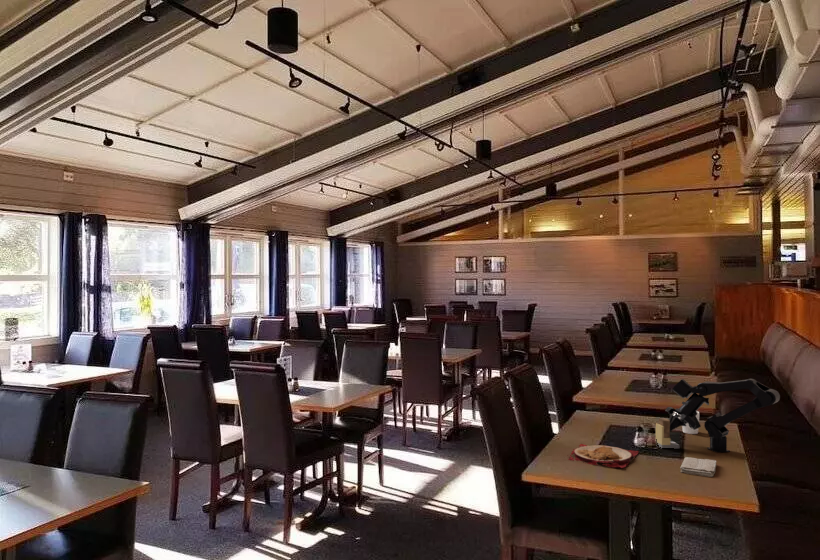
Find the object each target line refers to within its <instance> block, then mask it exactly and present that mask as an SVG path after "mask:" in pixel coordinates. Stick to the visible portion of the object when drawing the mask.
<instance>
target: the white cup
mask: <svg viewBox="0 0 820 560" xmlns="http://www.w3.org/2000/svg"><path fill="white" fill-rule="evenodd" d="M696 412H697V415H696V418H697V419H698V421H699V422H700V411H698V410H697V411H696ZM681 427H682V432H683V433H684V434H689V435H697V434H698V433H699V428H697V429H695V430H694V429H692V428H690V427H689V424H688V423H687V424H686V426H681Z"/></svg>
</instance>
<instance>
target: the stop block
mask: <svg viewBox="0 0 820 560" xmlns="http://www.w3.org/2000/svg"><path fill="white" fill-rule="evenodd" d="M658 424H660V425H662V426H664V438H670V439H671V437H670V434H671V433H670V432H671V431H670V420H669V419H668V418H665V417H664V418H663V417H662V418H661V417H660V418H659V417H658Z"/></svg>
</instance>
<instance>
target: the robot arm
mask: <svg viewBox="0 0 820 560" xmlns="http://www.w3.org/2000/svg"><path fill="white" fill-rule="evenodd" d="M743 390H749V391H750V392H751V393H752V394H753V395H754V396H755V398H754V399H752V400H751V401H749V402H747V403H745V404H743V405H740V406H738V407H736V408H735V409H733V410H731V411H729V412H727V413H725V414H721V412H717V413H715V414H713V415H711V416H709V417H706V421H704V425H703V426H704V429H705V431H707V434H708V437H710V438H709V447H706V448H707V450H709V451H713V452H715V453H729V452H731V451H730V450H729V449H727V448H728V447H727V446H728V444H727V443H728V440H727V439H728V438H727V436H728V435H729V433H730V431H729V429H728V428H727V427H726V426H728V424H730V423H731V422H733V421H734V420H737V419H739V418H741V417H743V416H745V415H747V414H749V413H752V412H753V411H755V410H757V409H761V408H765V407H768V406H771V405H774V404H776V403H778V402H779V401H780V399H781V395H780V393H779V391H777V390H776V389H773V388H770V387H768V386H766V385H765V384H762V383H761V382H759V381H757V380H756V379H754V378H748V379H742V380H741V379H740V380H733V381H731V380H730V381H725V382H718V381H707V380H706V381H703V382H699V383H698V384H697V385H694V386H692V385H691V384H690V383H688V382H687V381H686V380H685V379H684V378H682V379H680V381H678V382H677V383H676V384H675V385H674V386H673V387H672V391H673V392H674V393H676V394H677V396H679V397H681V398H682V399H685V398H686V400H685V401H681V404H682V405H681V406H680V407H679V408H676V409H675V408H673V407H672V406H667V407H666V409H665V412H667V413H668V414H669V419H668V420H670V432H672V431H673V430H675V429H677V428H679V427H683V426H686V424H687V423H688V424H689V427H690V428H692V429H694V430H695V429H697V428H698V429H699V428H701V426H702V425H701V423H700V420H699V421H698V419H697V418H696V415H697V412H696V411H698V410H699V409H700V408H701V406H703V405H704V404H705V405H706V406H710V401H709V400H710V398H709V397H706V396H710V395H715V394H717V393H721V392H722V393H723V392H731V391H743Z"/></svg>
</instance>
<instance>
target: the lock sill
mask: <svg viewBox="0 0 820 560" xmlns="http://www.w3.org/2000/svg"><path fill="white" fill-rule="evenodd" d="M656 439H657V443H658V445H659V447H658V448H660V447H661V448H660V449H662V448H674V449H680V444H678V443H677V442H675V441H673V440H671V437H670V438H664V426H662V425H660V424H659V422H658V423H657V422H656V423H655V440H656Z"/></svg>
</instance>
